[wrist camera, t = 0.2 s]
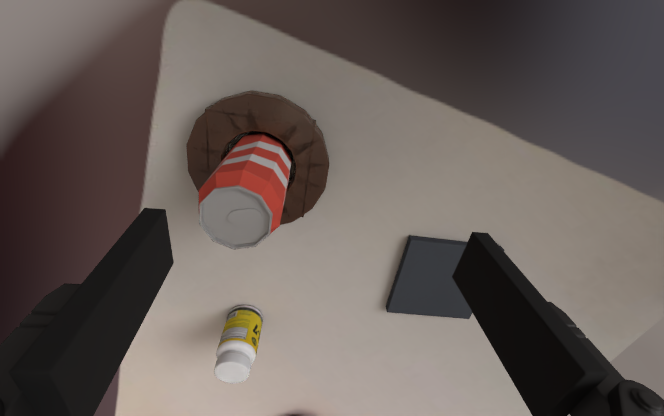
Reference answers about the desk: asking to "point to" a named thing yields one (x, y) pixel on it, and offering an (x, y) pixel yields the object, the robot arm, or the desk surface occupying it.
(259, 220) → the beverage can
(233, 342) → the supplement bottle
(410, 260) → the mat
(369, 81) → the desk surface
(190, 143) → the socket
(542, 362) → the robot arm
